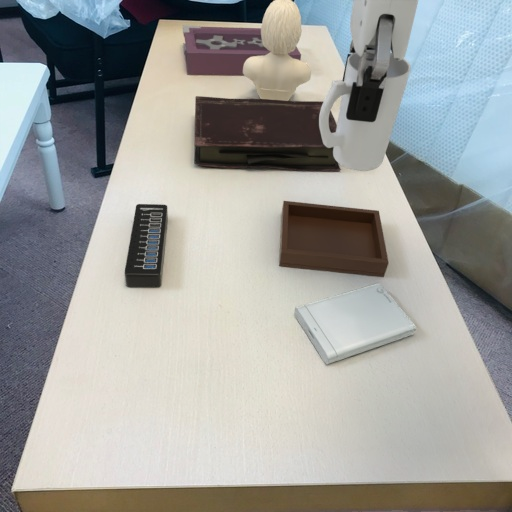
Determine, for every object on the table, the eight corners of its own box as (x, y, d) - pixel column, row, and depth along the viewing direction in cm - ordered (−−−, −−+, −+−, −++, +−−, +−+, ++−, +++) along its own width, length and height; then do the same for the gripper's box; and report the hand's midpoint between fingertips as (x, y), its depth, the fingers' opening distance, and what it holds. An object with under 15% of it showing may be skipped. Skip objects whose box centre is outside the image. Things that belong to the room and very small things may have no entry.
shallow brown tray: (383, 277, 69) (388, 263, 68) (279, 266, 69) (281, 252, 68) (374, 224, 78) (379, 210, 76) (281, 214, 78) (283, 200, 76)
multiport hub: (125, 287, 64) (123, 274, 63) (137, 216, 75) (136, 203, 73) (161, 287, 65) (160, 274, 63) (168, 216, 75) (167, 204, 74)
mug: (364, 137, 66) (385, 45, 58) (396, 165, 62) (424, 71, 54) (297, 154, 63) (309, 59, 54) (326, 185, 59) (344, 88, 50)
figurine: (304, 94, 110) (320, -7, 96) (306, 114, 103) (323, 9, 89) (242, 88, 109) (249, -14, 96) (239, 108, 102) (246, 1, 89)
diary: (195, 117, 98) (195, 92, 95) (322, 121, 101) (326, 97, 98) (194, 171, 85) (194, 144, 81) (341, 174, 87) (346, 149, 84)
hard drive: (379, 281, 66) (295, 305, 62) (417, 327, 61) (329, 357, 57) (376, 290, 68) (293, 314, 63) (413, 336, 62) (326, 365, 58)
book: (284, 49, 128) (287, 28, 125) (298, 76, 116) (301, 54, 113) (182, 46, 124) (182, 25, 120) (186, 74, 112) (186, 52, 109)
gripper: (464, -55, 40) (401, 146, 52) (423, -93, 52) (380, 76, 64) (368, -65, 39) (327, 139, 52) (351, -101, 52) (321, 69, 64)
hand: (357, 102), depth 58 cm, fingers closed on mug, 6 cm apart
